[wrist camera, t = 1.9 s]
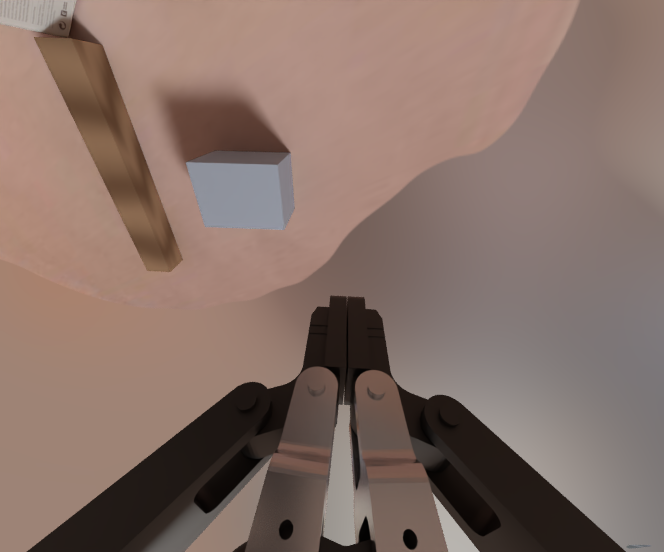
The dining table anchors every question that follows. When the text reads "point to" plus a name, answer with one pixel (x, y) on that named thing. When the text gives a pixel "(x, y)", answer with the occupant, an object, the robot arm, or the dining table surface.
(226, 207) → the block
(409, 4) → the dining table surface
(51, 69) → the board
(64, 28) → the skincare box
